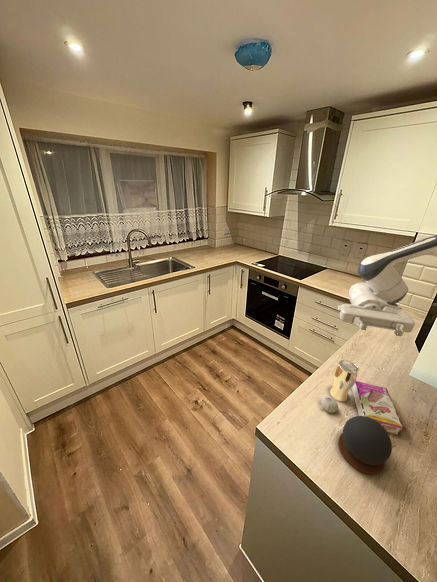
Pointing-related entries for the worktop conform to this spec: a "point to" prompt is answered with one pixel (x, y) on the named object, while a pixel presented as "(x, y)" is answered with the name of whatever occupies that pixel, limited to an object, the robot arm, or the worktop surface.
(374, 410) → the candy bar box
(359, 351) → the worktop surface
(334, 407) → the garlic
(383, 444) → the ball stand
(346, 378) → the cream cylindrical can
